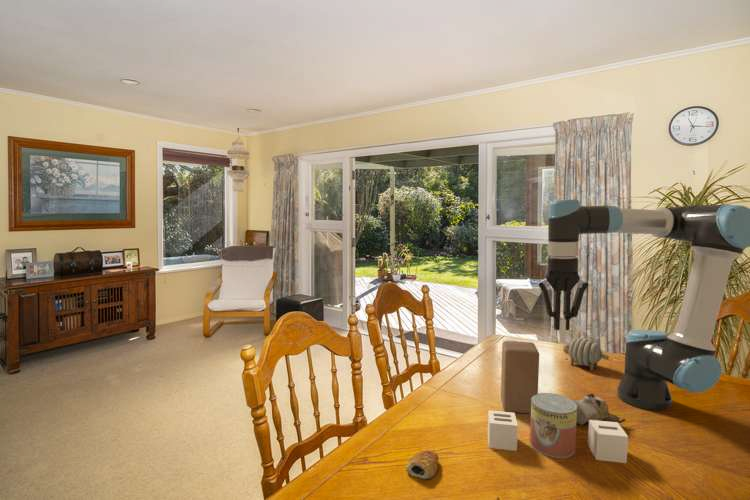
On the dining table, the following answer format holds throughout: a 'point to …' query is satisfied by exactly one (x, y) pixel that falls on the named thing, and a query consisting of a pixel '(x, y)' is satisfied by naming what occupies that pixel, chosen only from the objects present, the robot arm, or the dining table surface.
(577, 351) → the grey armadillo figurine
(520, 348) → the block
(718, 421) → the dining table surface
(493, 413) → the marked cube 1
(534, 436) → the canned food
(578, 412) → the ceramic sculpture
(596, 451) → the marked cube 2
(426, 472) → the pastry
